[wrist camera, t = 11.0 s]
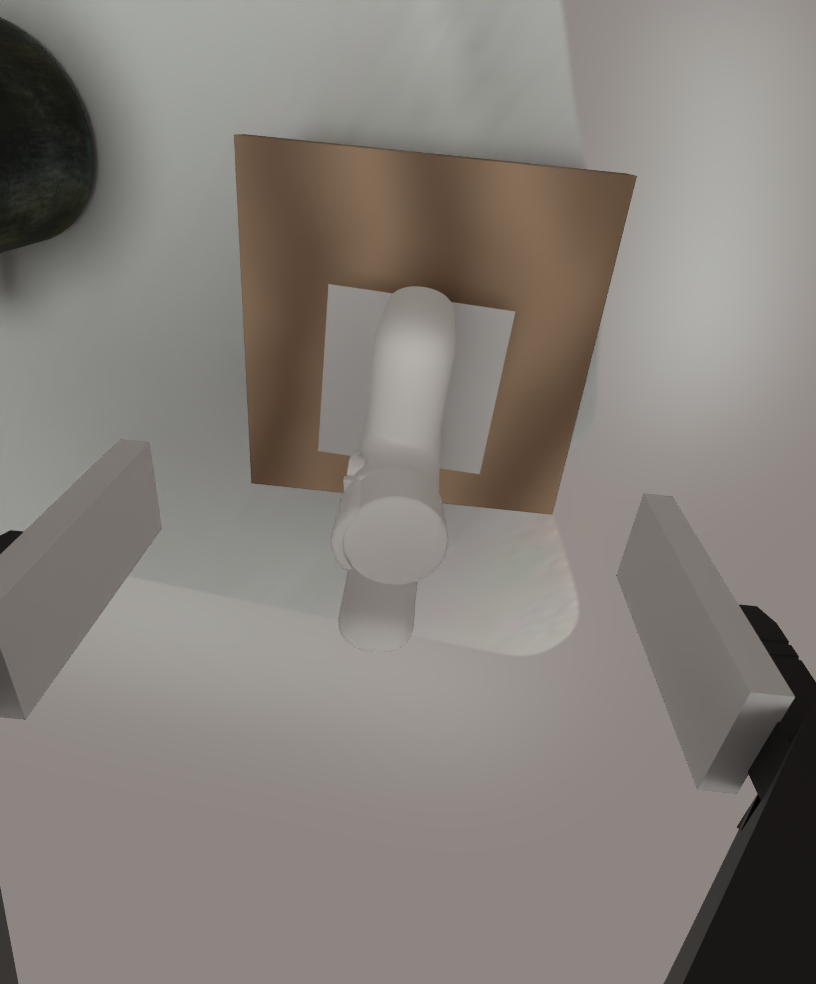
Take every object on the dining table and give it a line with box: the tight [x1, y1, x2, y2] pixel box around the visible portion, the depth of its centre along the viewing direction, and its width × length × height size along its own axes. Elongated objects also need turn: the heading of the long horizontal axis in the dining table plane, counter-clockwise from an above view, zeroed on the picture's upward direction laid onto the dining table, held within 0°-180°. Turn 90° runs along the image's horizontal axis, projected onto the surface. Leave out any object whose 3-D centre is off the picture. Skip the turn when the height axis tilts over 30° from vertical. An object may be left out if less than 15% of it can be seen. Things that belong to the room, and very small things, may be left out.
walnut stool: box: [234, 134, 637, 514], centre depth 32 cm, size 16×16×8 cm
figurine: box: [318, 284, 515, 652], centre depth 22 cm, size 7×9×15 cm
